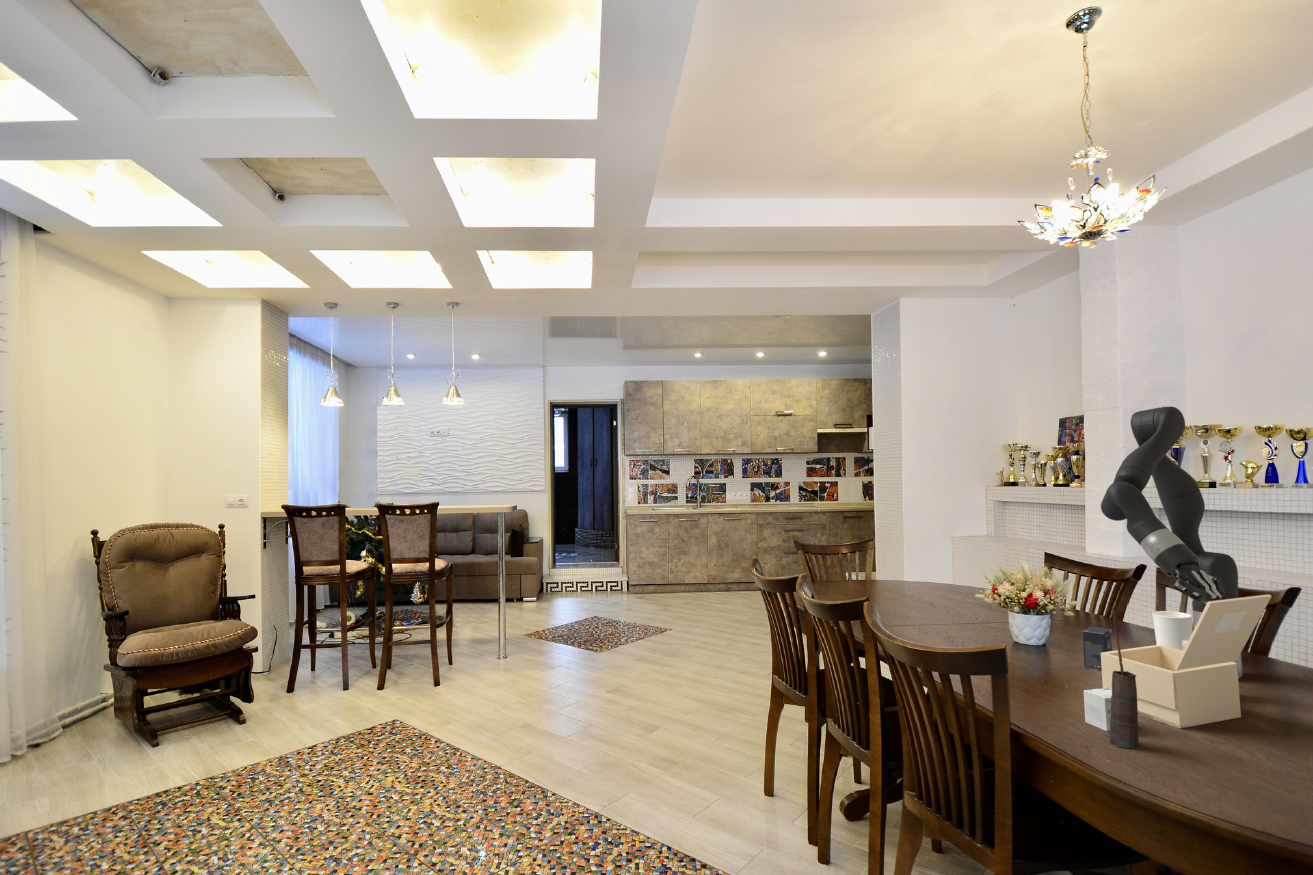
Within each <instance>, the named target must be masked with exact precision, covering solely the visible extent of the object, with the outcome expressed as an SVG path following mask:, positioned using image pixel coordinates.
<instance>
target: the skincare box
mask: <svg viewBox="0 0 1313 875" xmlns="http://www.w3.org/2000/svg"><path fill="white" fill-rule="evenodd" d="M1111 696H1112V690H1110V689H1107V688H1103V687H1102V688H1093V689H1084V690H1083V701H1084V702H1083V703H1084V722H1085V723H1087V724H1088V725H1091V726H1092V727H1096V728H1098V729H1100V730H1102V731H1104V732H1110V718H1111V700H1112V699H1111Z"/></svg>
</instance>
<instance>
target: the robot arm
mask: <svg viewBox="0 0 1313 875" xmlns="http://www.w3.org/2000/svg"><path fill="white" fill-rule="evenodd" d="M1185 420H1186V419H1185V417H1184V415H1183V412H1181V410H1180V409H1179V408H1177V407H1175V406H1161V407H1155V408H1150V409H1144V410H1139V411H1136V412H1134V413H1133V414H1132V415H1131V418H1130V428H1131V431H1132V435H1133V437H1134V439H1135V441H1136V444H1137V445H1138V447H1137V448H1136V449H1134V450H1133V451H1132V452H1130V453H1129V454H1128V455H1127V456H1126V457H1125V458H1124V459H1123V461H1122V462H1121V464H1120V465H1119V468H1118V469H1117V471H1116V473H1115V476H1114V479H1113V482H1112V483H1111V484H1110V485H1109V486H1108V487H1107V489H1106V492H1105V494H1104V496H1103V498H1102V500H1101V502H1100V510H1101V512H1102V514H1103V515H1104V516H1105V517H1106V518H1108V519H1109V520H1111V521H1117V522H1119V521H1120V522H1121V521H1124V520H1126V530H1127V532H1128V534H1129V535H1130V536H1131V537H1132V538H1133V539H1134V540H1135V541H1136V542H1137V544H1138V545H1139V546H1140V547H1141V548H1142V549H1143V551H1144V552H1145V554H1146V555H1147V556H1148V557H1149V558H1150V559H1151V560H1152V562H1154V564H1156V566H1158V569H1160V570H1161V571H1162V573H1163V574H1165V576H1166V577H1168V578H1173V579H1174V580H1175V583H1174V584H1173V585H1172V588H1173V589H1174V590H1176V591H1178V592H1180V593H1181V594H1183V595H1184V596H1187V597H1188V598H1190V599H1191V600H1192V601H1191V602H1192V603H1191V608H1192V624H1193V629H1194V628H1195V626H1196V624H1197V622H1198V620H1199V618H1200V616H1201V614H1202V612H1203V610H1204V608H1205V606H1206V604H1207V602H1209V601H1217V600H1226V599H1234V598H1239V571H1238V567H1237V563H1236V561H1235V560H1234V558H1233V557H1232V556H1230V555H1229V554H1226V553H1221V552H1214V551H1206V550H1205V549H1204V546H1203V545H1202V541H1201V538H1200V534H1199V532H1200V531H1199V530H1200V525H1201V522H1202V520H1203V516H1204V513H1205V508H1206V503H1205V500H1204V497H1203V495H1202V491H1201V489H1200V486H1199V484H1198V482H1197V481H1196V479H1195V478H1194V477H1193V476H1192V475H1191V474H1190V473H1188V472H1187V471H1186V470H1184V469H1183V467H1181V466H1179V465H1178V464H1177V463H1175V461H1173V460H1172V459H1171V458H1170V457H1169V456H1168V455H1167V454H1168V453H1169V451H1171V449H1172V448H1173V447H1174V445H1176V444H1177V442H1178V441H1179V440H1180V438H1181V437H1182V436H1183V434H1184V431H1185V430H1186V421H1185ZM1151 477H1152V479H1153V482H1154V485H1155V488H1156V492H1157V495H1158V497H1159V500H1160V503H1161V506H1162V508H1163V510H1164V511H1163V512H1164V513H1165V515H1166V518H1167V521H1168V524H1169V526H1170V529H1169V528H1168V527H1167V526H1166V525H1165V524H1164V522H1162V521H1161V520H1160V519H1159V518H1158V517H1157V516H1156V515H1155V512H1154V510H1153V509H1152V507H1151V505H1150V504H1149V501H1148V500H1147V499H1146V497H1145V495H1144V493H1143V491H1144V489H1145V488H1146V486H1147V485H1148V483H1149V482H1150V479H1151ZM1233 662H1235V663H1237V670H1238V680H1239V679H1241V677H1243V664H1242V663H1243V662H1242V652H1241V653H1240V655H1239V657H1238V659H1237V660H1236V661H1233Z"/></svg>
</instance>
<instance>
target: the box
mask: <svg viewBox="0 0 1313 875" xmlns="http://www.w3.org/2000/svg"><path fill="white" fill-rule="evenodd" d="M1112 632H1113V631H1112V628H1105V627H1097V626H1089V627H1088V628H1086V629H1084V630H1083V631H1082V644H1083V646H1082V647H1083V666H1084V668H1087V669H1090V670H1097V671H1102V666H1101V653H1102V652H1109V651H1113V638H1112V637H1113V636H1112Z"/></svg>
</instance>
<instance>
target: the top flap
mask: <svg viewBox="0 0 1313 875" xmlns="http://www.w3.org/2000/svg"><path fill="white" fill-rule="evenodd" d="M1272 597H1273V595H1271V594H1260V595H1251V596H1244V597H1238V598H1234V599H1226V600H1217V601H1209V602H1207V604H1206V606H1205V608H1204V610H1203V612H1202V614H1201V616H1200V618H1199V620H1198V622H1197V624H1196V626H1195V628H1194V627H1193V629H1192V634H1191V636H1190V638H1189V640H1188V642H1187V644H1186V646H1185V648H1184V650H1183V652H1182V654H1181V656H1180V658H1179V660H1178V662H1177V663H1176V665H1175V667H1174V669H1176V670H1182V669H1188V668H1194V667H1201V666H1207V665H1214V664H1220V663H1227V662H1233V661H1236V660H1237V659H1238V657H1239V655H1240V653H1241V654H1242V652H1243V650H1244V647H1245V646H1246V644H1247V642H1248V640H1249V638H1250V637H1251V635H1252V633H1253V631H1254V630H1255V627H1256V626H1257V624H1258V623H1259V620H1260V618H1261V617H1262V615H1263V613H1264V611H1265V610H1266V607H1267V606H1268V604H1269V603H1270V600H1271V598H1272Z"/></svg>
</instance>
